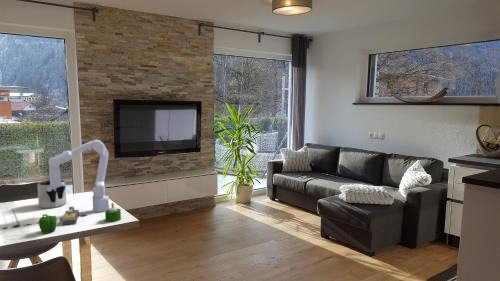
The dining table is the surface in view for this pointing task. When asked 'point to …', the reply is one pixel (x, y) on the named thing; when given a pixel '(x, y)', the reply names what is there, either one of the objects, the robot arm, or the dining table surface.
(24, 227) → the dining table surface
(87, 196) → the dining table surface
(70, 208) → the lever
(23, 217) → the dining table surface
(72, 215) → the lever cap
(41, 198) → the planter
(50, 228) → the bell pepper
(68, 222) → the plane body
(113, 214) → the candle
